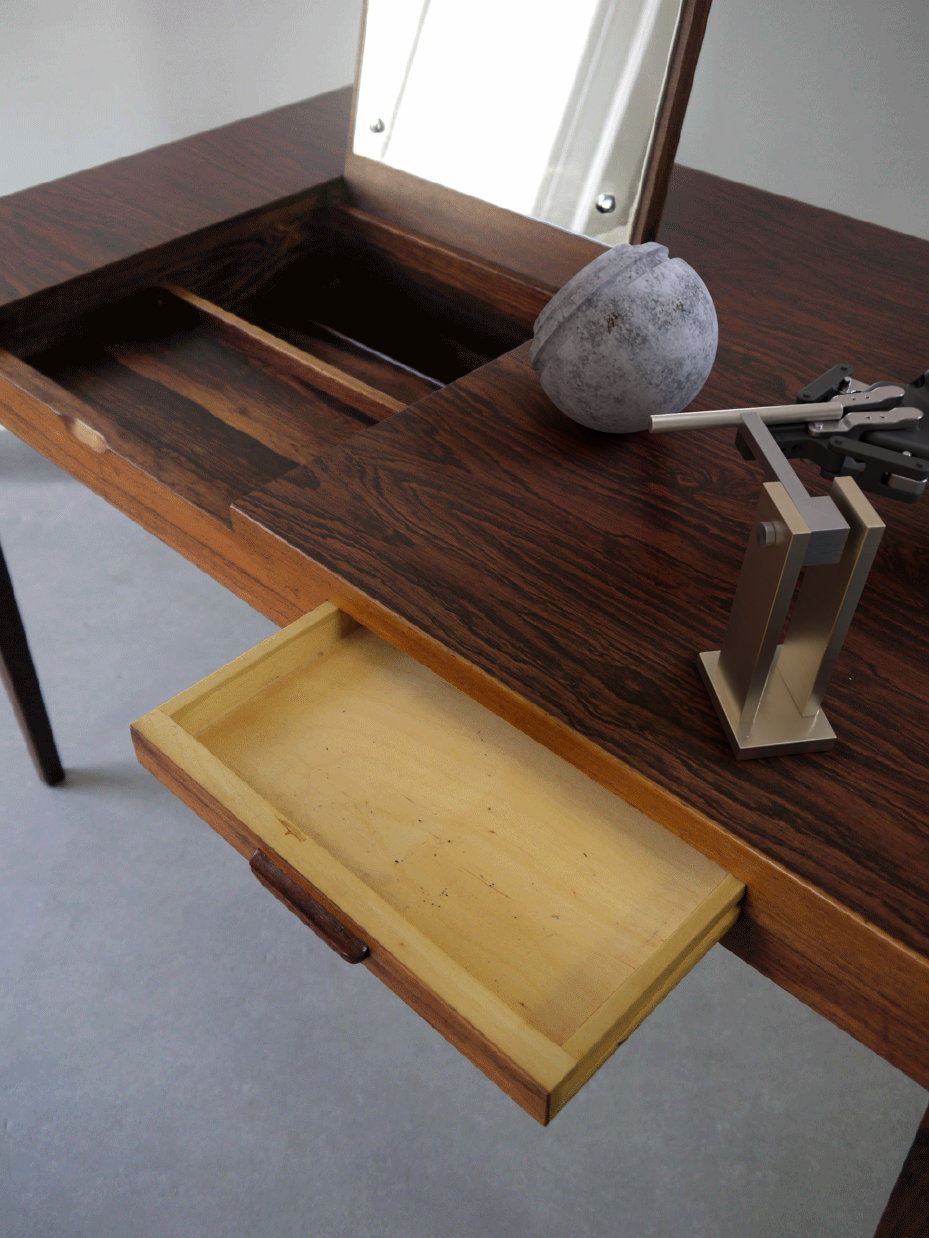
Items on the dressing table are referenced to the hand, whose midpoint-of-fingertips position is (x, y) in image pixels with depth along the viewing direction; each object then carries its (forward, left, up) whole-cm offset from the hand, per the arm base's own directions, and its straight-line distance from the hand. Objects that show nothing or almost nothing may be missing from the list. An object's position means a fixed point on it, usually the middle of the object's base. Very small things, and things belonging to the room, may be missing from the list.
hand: (740, 440), depth 65 cm
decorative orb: (+1, -22, -13) cm, 25 cm away
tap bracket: (0, +11, -12) cm, 17 cm away
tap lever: (0, +6, 0) cm, 6 cm away
